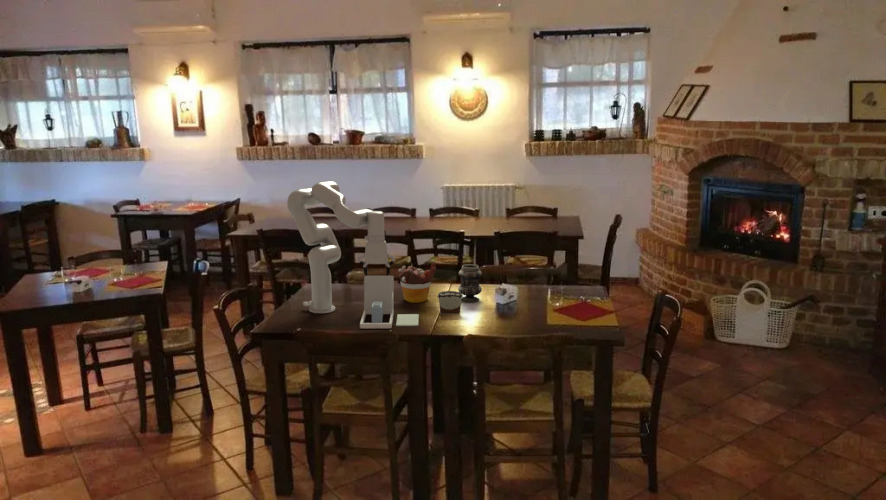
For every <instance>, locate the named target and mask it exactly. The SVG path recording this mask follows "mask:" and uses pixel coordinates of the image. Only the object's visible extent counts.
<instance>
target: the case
mask: <svg viewBox="0 0 886 500" xmlns="http://www.w3.org/2000/svg"><path fill="white" fill-rule="evenodd" d="M363 277H364V278H363V286H364V287H363V290H364V291H363V292H364V293H363V295H364V296H363V306H364V307H363V313H362V315H361V319H360V322H359V329H392V326H393V319H394V309H395V308H394V307H395V306H394V303H395V301H394V300H395V299H394V298H395V297H394V296H395V295H394V291H395V289H394V288H395V287H394V283H395V282H394V281H395V278H394V275H388V276H387V275H367V276H365V275H364V276H363ZM374 301H381V302H383V315H390V316H389V317H390V318H389V322H382V323H372V322H365V320H366V317H367V315H372V304H373V302H374Z"/></svg>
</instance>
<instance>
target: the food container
mask: <svg viewBox="0 0 886 500" xmlns="http://www.w3.org/2000/svg"><path fill="white" fill-rule="evenodd" d="M463 297H464V295H463V294H462V293H460V292H459V291H454V290H446V291H441V292H438V293H437V299H438V303H439V314H440V315H461V307H462V301H461V300H462V298H463Z"/></svg>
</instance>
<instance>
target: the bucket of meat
mask: <svg viewBox="0 0 886 500" xmlns="http://www.w3.org/2000/svg"><path fill="white" fill-rule="evenodd" d="M397 271H398V272H400V274H399V275H398V278H399V280H400V281H399V282H400V287H401V291H402V295H403V300H405V301H406V302H407V303H412V304H420V303H425V302H426V301H427V300H428V297H429V292H430V287H431V283H432V279H433V277H434V274H435V272H436V271H437V266H436V263H435V262H432V263H431V265H430V269H426V270H425V271H424V270H421V269H420V268H416V267H414V266H411V265H409V266H408V267H407V269H406V265H403V266H401V268H399V269H398V270H397Z"/></svg>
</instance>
